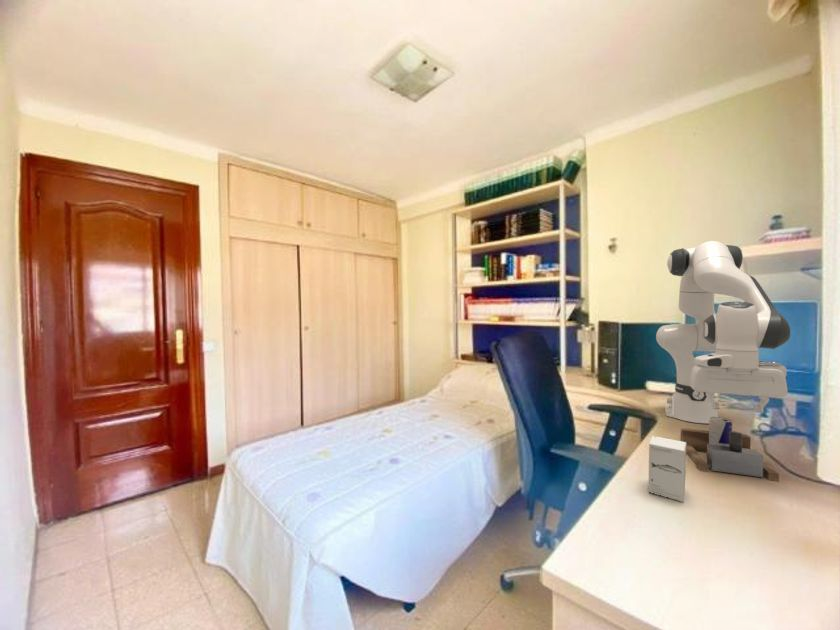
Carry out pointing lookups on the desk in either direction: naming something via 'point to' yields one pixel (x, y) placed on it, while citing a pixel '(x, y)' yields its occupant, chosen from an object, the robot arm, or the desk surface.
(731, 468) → the sliding jaw
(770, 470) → the vise frame
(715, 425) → the energy drink
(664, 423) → the desk surface
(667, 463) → the supplement box
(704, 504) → the desk surface
